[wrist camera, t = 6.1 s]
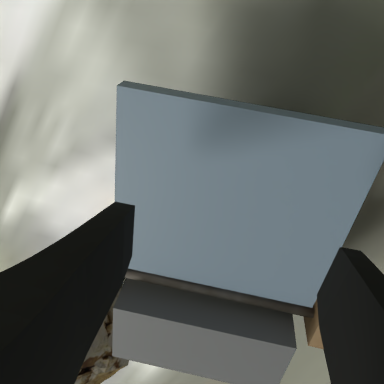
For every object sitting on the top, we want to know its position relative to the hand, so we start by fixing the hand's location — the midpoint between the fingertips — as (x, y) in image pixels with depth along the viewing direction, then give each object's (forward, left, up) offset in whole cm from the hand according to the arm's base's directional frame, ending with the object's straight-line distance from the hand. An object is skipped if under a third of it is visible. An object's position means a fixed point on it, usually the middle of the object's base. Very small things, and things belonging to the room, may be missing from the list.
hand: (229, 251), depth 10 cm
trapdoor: (0, +4, -6) cm, 7 cm away
